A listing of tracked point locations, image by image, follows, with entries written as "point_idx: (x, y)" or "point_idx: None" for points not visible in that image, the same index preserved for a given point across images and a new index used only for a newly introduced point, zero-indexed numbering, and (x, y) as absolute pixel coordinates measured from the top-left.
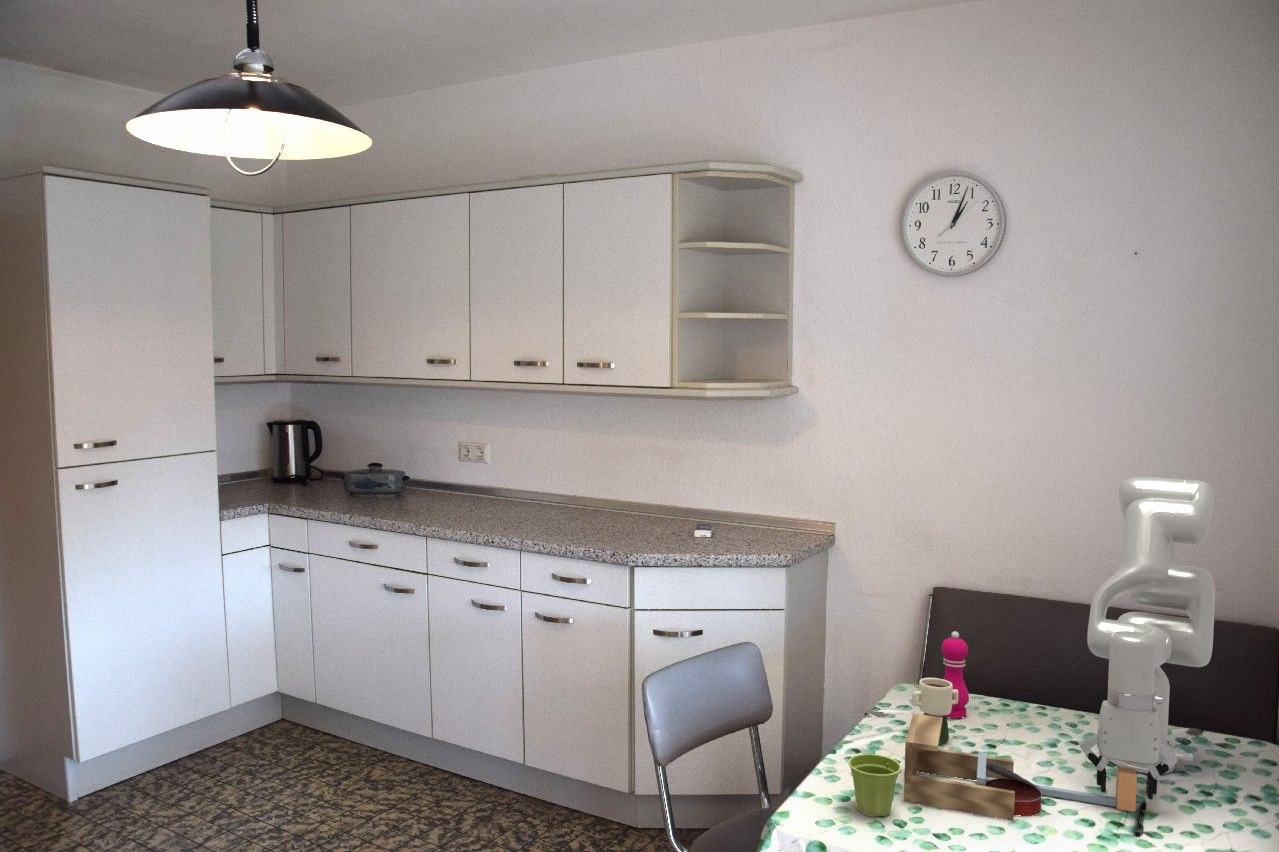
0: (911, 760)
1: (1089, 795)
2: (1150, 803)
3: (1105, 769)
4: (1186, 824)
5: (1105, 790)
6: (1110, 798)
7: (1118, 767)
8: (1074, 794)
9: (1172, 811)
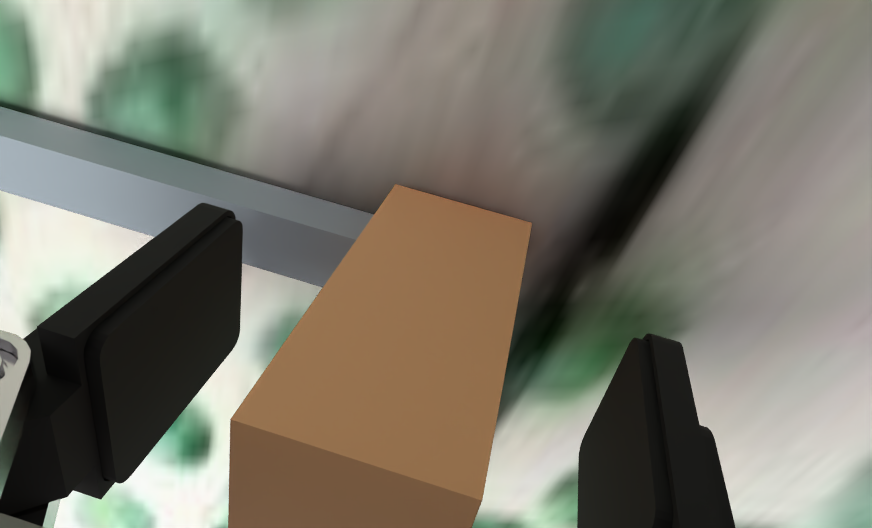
0: None
1: (162, 229)
2: (748, 134)
3: (105, 421)
4: (809, 463)
5: (228, 353)
6: (318, 268)
7: (243, 461)
8: (62, 204)
9: (865, 280)
